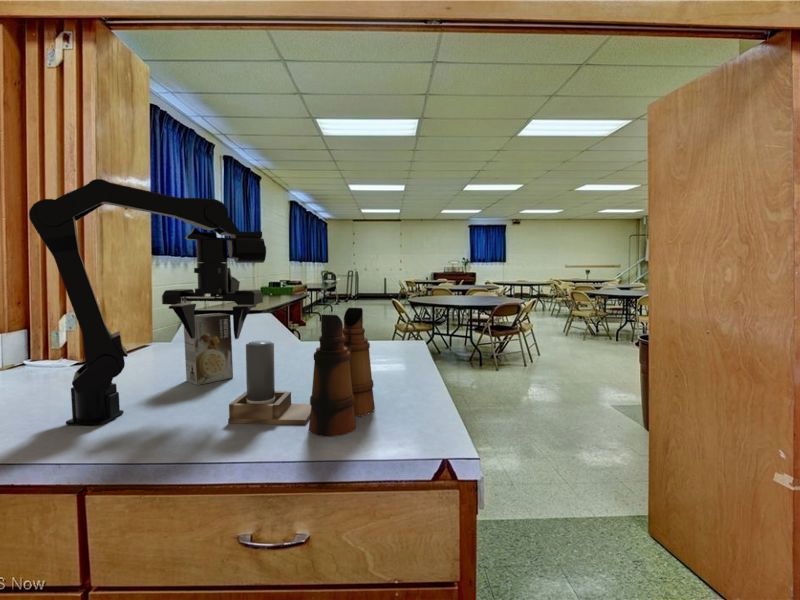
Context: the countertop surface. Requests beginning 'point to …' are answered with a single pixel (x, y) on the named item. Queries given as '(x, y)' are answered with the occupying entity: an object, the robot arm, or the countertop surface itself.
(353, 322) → the binoculars
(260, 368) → the grey round-topped cylinder
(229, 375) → the coffee box
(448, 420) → the countertop surface
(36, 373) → the countertop surface
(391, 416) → the countertop surface
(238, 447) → the countertop surface
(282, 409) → the brown square-cornered frame
